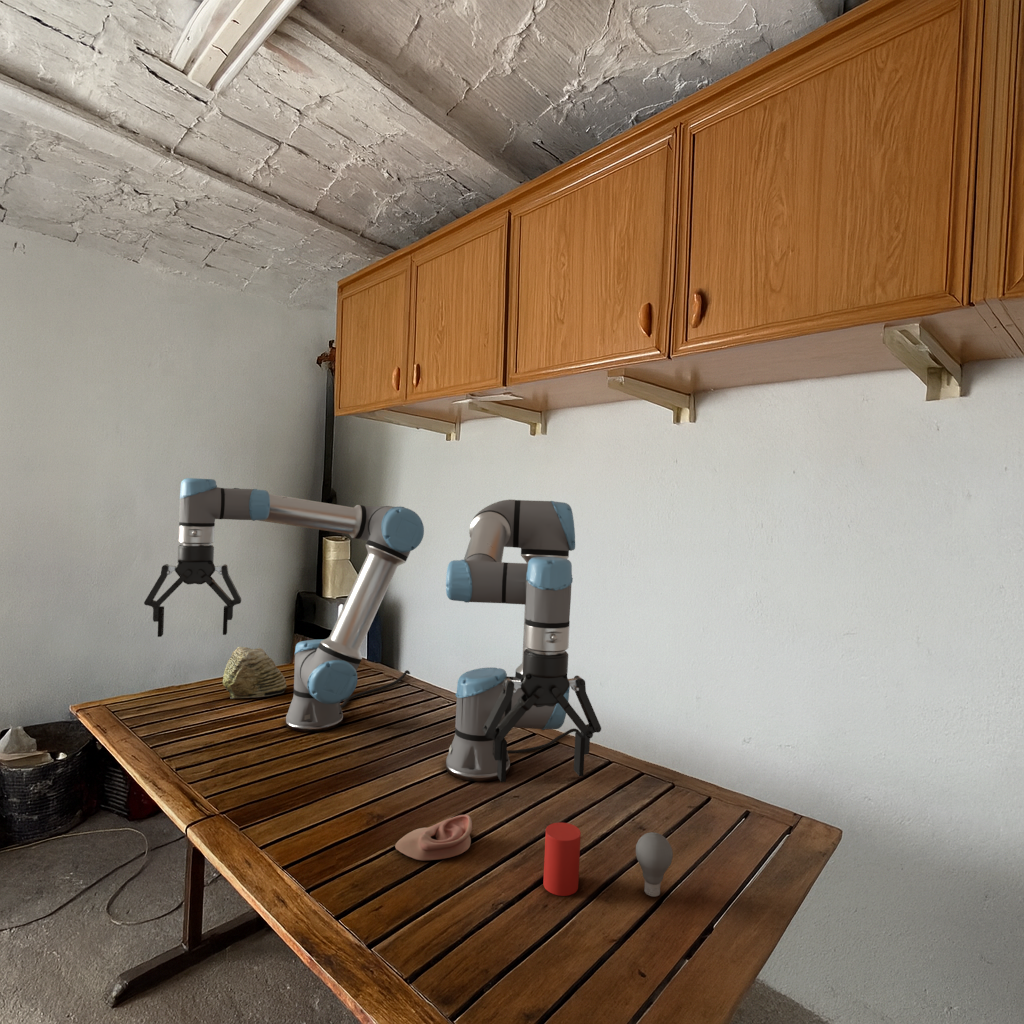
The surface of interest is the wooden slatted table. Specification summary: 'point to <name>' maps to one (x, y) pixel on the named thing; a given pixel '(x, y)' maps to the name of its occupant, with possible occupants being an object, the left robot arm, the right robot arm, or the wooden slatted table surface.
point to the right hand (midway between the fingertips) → (540, 776)
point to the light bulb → (653, 860)
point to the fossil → (252, 674)
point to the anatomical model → (438, 839)
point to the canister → (561, 859)
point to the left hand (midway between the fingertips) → (193, 634)
